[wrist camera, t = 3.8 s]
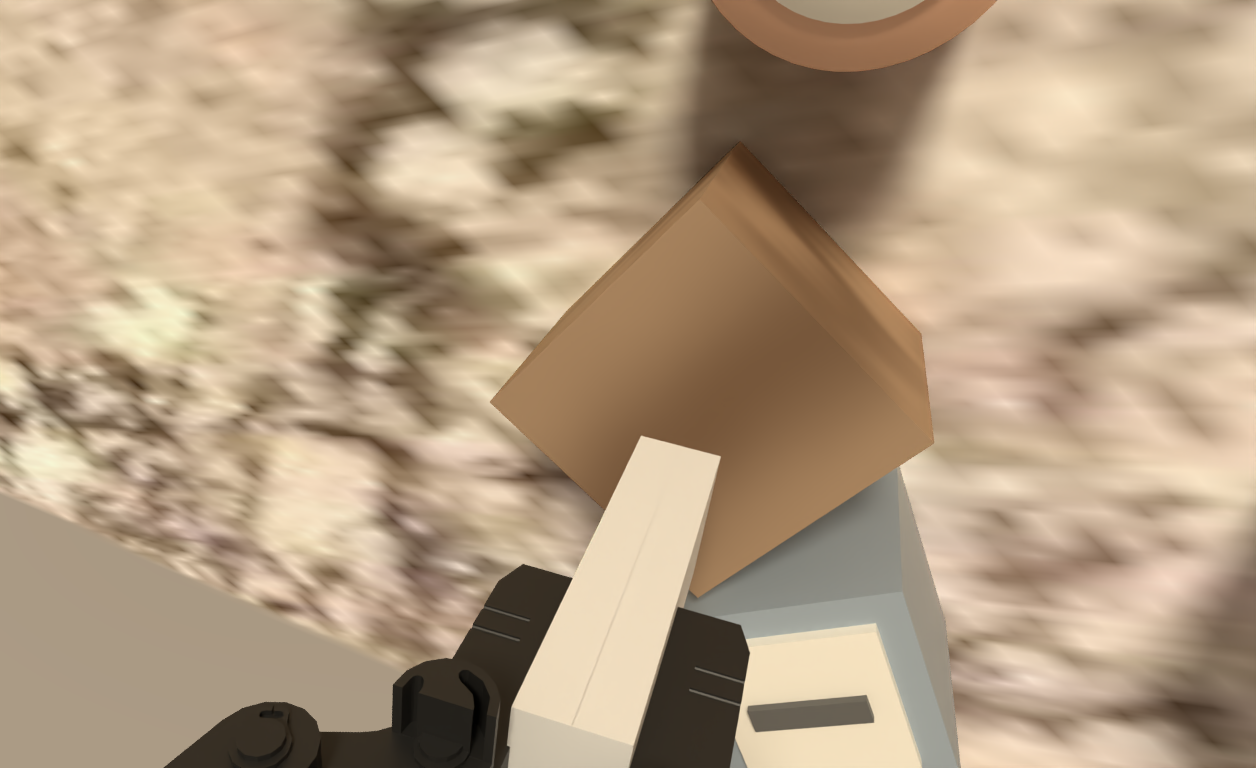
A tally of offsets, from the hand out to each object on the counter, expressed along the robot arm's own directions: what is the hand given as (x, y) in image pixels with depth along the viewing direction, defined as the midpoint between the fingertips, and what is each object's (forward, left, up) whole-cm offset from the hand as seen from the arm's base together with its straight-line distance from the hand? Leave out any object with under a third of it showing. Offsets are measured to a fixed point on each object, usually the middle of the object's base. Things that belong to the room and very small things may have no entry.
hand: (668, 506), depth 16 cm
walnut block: (0, 0, -9) cm, 9 cm away
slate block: (+8, -2, -9) cm, 12 cm away
